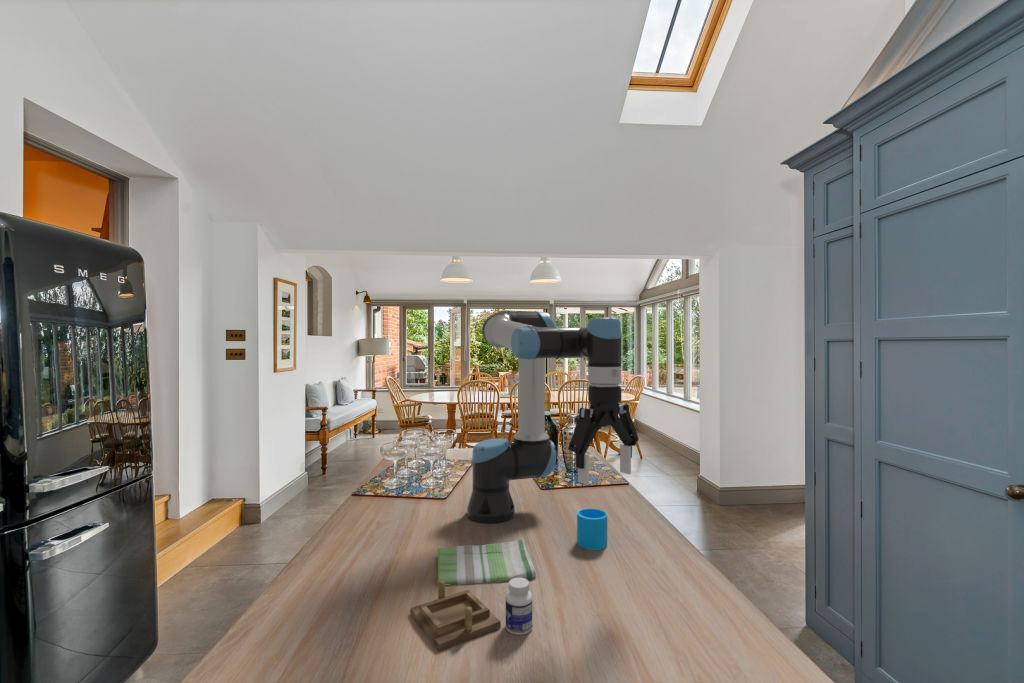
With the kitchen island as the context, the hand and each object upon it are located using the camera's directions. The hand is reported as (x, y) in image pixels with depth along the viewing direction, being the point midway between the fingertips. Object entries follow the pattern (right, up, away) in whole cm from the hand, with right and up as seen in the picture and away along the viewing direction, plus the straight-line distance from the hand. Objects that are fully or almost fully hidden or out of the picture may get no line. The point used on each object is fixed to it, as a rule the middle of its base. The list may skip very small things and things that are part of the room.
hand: (605, 477), depth 112 cm
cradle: (-33, -24, -15) cm, 43 cm away
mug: (0, -24, +23) cm, 34 cm away
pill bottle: (-20, -25, -17) cm, 36 cm away
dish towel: (-28, -25, +9) cm, 39 cm away
